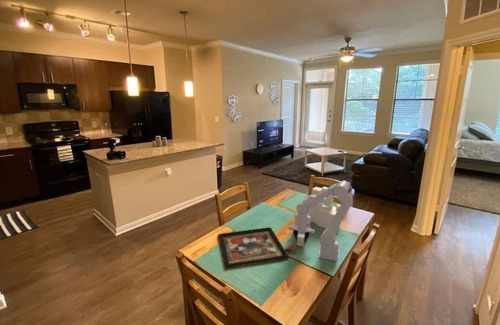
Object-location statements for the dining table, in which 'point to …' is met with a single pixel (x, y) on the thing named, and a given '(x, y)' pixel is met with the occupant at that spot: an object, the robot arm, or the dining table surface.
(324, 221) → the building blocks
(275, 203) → the dining table surface
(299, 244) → the sage block
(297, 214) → the supplement box
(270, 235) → the framed icon painting
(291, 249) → the walnut base
